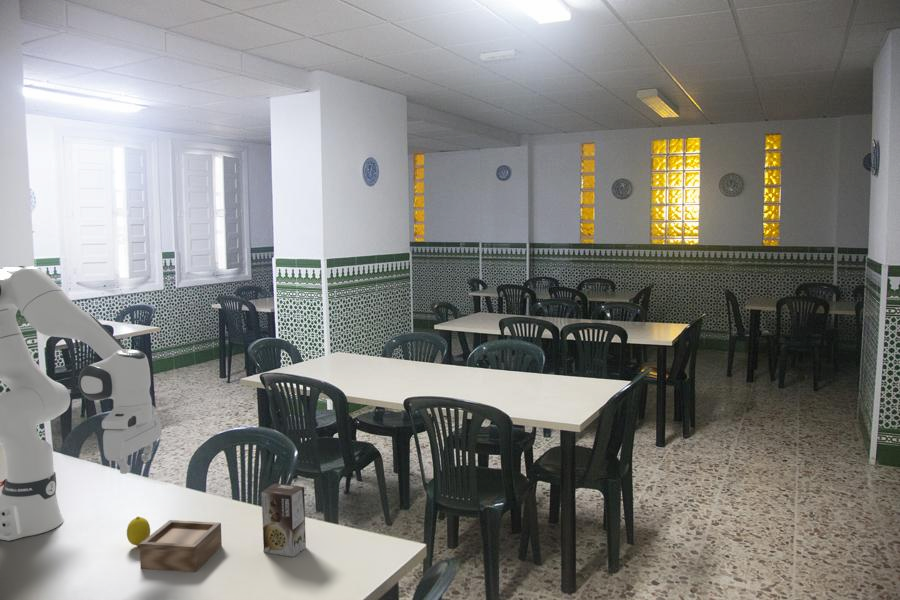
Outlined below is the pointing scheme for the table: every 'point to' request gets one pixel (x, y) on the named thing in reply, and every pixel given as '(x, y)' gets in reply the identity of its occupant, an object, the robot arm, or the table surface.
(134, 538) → the lemon
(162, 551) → the walnut base
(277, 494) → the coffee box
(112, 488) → the table surface
